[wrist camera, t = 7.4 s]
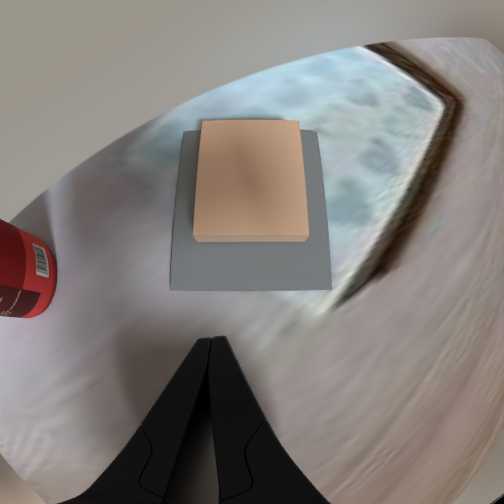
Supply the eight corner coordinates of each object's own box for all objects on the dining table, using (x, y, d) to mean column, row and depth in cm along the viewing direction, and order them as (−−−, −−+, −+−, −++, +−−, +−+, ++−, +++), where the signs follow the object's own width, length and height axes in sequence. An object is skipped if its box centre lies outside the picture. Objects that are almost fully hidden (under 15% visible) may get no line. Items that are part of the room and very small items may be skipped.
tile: (309, 235, 20) (298, 120, 22) (193, 235, 20) (202, 120, 22) (303, 242, 22) (295, 134, 24) (197, 242, 22) (205, 134, 24)
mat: (329, 289, 21) (331, 288, 21) (171, 290, 21) (170, 289, 21) (315, 134, 25) (316, 131, 24) (185, 134, 24) (184, 131, 24)
